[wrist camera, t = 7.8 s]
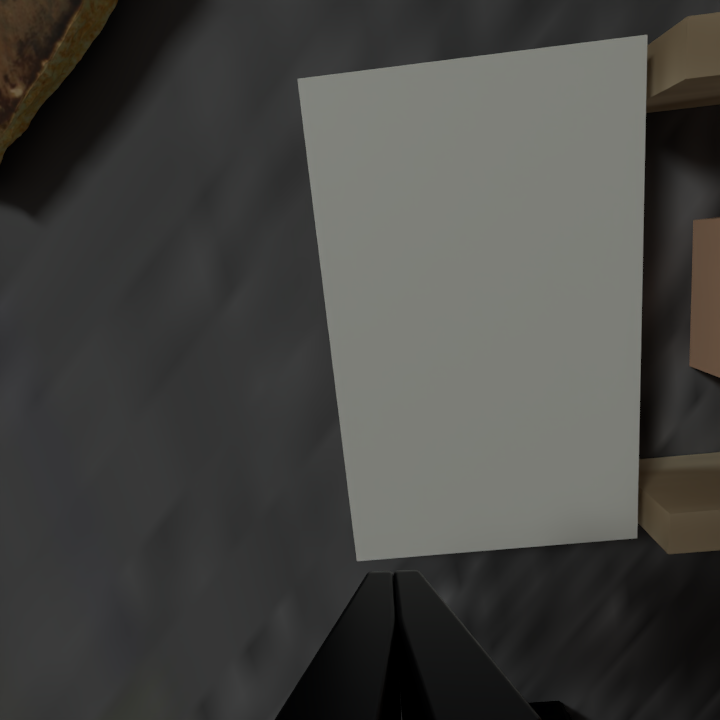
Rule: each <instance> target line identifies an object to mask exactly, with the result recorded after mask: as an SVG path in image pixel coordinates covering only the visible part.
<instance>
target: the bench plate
mask: <svg viewBox="0 0 720 720" xmlns="http://www.w3.org/2000/svg"><path fill="white" fill-rule="evenodd" d="M646 83H647V35H641V36H633V37H625V38H617V39H610V40H602V41H594V42H586V43H578V44H570V45H562V46H554V47H546V48H538V49H530V50H522V51H514V52H507V53H499V54H491V55H483V56H475V57H467V58H459V59H451V60H443V61H435V62H427V63H419V64H411V65H404V66H396V67H388V68H380V69H372V70H364V71H356V72H348V73H340V74H332V75H324V76H316V77H308V78H301V79H298V87H299V95H300V103H301V111H302V119H303V127H304V136H305V144H306V152H307V160H308V168H309V176H310V184H311V192H312V200H313V209H314V217H315V225H316V233H317V241H318V249H319V257H320V265H321V274H322V282H323V290H324V298H325V306H326V314H327V322H328V330H329V338H330V347H331V355H332V363H333V371H334V379H335V387H336V395H337V403H338V411H339V420H340V428H341V436H342V444H343V452H344V460H345V468H346V476H347V485H348V493H349V501H350V509H351V517H352V525H353V533H354V541H355V549H356V558H357V561H365V560H378V559H390V558H402V557H414V556H426V555H439V554H451V553H463V552H475V551H487V550H500V549H512V548H524V547H536V546H549V545H561V544H573V543H585V542H597V541H610V540H622V539H634V538H637V526H638V476H639V427H640V378H641V329H642V280H643V230H644V181H645V132H646Z"/></svg>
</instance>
